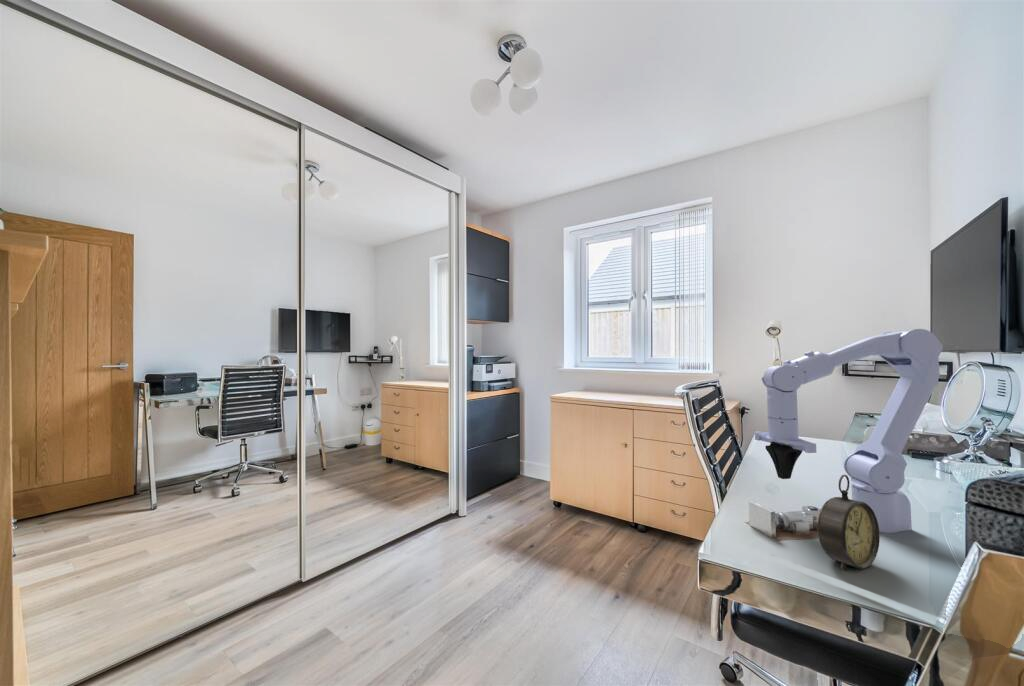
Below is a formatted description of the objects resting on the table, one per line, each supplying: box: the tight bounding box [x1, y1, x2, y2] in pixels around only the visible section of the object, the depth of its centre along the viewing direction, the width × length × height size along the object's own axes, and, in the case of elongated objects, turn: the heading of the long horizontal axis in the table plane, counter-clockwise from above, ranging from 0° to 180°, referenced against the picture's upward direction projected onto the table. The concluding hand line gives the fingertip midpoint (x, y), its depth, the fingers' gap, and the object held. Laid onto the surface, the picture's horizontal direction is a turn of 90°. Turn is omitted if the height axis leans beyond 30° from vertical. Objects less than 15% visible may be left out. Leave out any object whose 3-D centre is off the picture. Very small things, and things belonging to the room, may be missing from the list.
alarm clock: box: [818, 474, 880, 571], centre depth 69 cm, size 11×5×16 cm, turn 114°
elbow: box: [776, 505, 821, 531], centre depth 82 cm, size 10×4×4 cm, turn 100°
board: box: [744, 521, 819, 542], centre depth 82 cm, size 17×9×1 cm, turn 98°
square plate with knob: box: [748, 500, 809, 538], centre depth 82 cm, size 9×6×5 cm, turn 98°
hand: (784, 478), depth 89 cm, fingers closed
